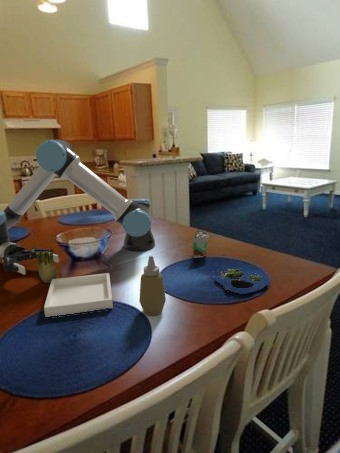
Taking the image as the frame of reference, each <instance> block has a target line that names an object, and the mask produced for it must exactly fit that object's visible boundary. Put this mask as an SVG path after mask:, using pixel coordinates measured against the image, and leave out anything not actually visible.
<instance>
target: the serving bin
mask: <svg viewBox="0 0 340 453" xmlns="http://www.w3.org/2000/svg"><path fill="white" fill-rule="evenodd" d="M49 284H50V285H49V288H48V292H47V295H46V300H45V302H44V306H43V311H44V312H43V313H44V316H45V317H50V316H57V315H58V316H59V315H66V314H74V313H80V312H87V311H94V310H100V309H106V308H113V309H114V307H113V305H114V304H113V296H112V295H113V294H112V293H113V292H112V286H111V278H110V272H107V273H106V272H105V273H98V274H89V275H88V274H87V275H81V276H80V275H79V276H77V275H76V276H70V277H69V276H68V277H60V278H59V277H58V278H56V279H52V281H51V283H49ZM74 315H75V314H74ZM59 317H60V316H59Z"/></svg>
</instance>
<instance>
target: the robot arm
mask: <svg viewBox="0 0 340 453" xmlns="http://www.w3.org/2000/svg"><path fill="white" fill-rule="evenodd" d="M35 157H36V158H35V159H36V161H37V163H38V165H39V166H38V168H36V170H35V171H34V173H32V175H31V176H30V177H29V178H28V180H27V181H26V182H25V183H24V185H23V186H22V187H21V188H20V189H19V191H18V192H17V193H16V195H15V196H14V197H13V198H12V200H11V201H10V202H9V204H8V205H6V207H5V208H4V210H0V258H1V261H2V265H3V270H4V273H7V272H9V271H10V273H15V272H17V273H20V274H22V275H26V274H27V273H26V267H25V266H24V265H21V264H20V263H22V262H24V261H27V260H34V259H37V256H36V253H40V256H41V253H42V252H45V258H46V251H49V252H53V261H54V263H59V262H60V259H59V255H58V254H55V253H54V249H53V248H52V249H51V248H36V247H31V250H30V249H29V250H26V248H24V246H22V245H20V244H17V243H14V242H12V241H10V240H11V239H10V234H9V229H11V228H12V227H13V226H15V225H17V224H18V223H19V222H20V221H21V219H22V217H23V216H24V215H25V213H26V212H27V211H28V209H29V208H30V207H31V206H32V205H33V203H34V202H35V201H36V200H37V199H38V198H39V196H40V195H41V194H42V193H43V192H44V190H45V189H46V188H47V186H49V184H50V183H51V182H52V180H53V179H54V178H55V177H56V176H57V177H58V178H60V179H61V180H62V179H63V180H64V179H67V180H68V181H70V182H71V183H72V184H73V185H74V186H76V187H78V189H80V190H81V191H83V193H85V194H86V195H87V196H89V197H90V198H91V199H93V200H94V201H95V202H97V203H98V204H99V205H100V206H101V207H103V208H104V209H106V210H107V211H108V212H109V213H111V214H112V215H113V217H114V221H115V222H116V223H118V224H119V225H120V226H121V227H122V228H123V230H124V232H125V235H124V240H123V248H124V249H126V250H127V251H132V252H133V251H134V252H143V251H148V250H151V249H153V248H155V246H156V241H155V236H154V235H153V234H154V233H153V232H152V216H151V201H150V199H149V198H126V197H124V196H123V195H122V194H121V193H120V192H118V191H117V190H116V189H115V188H114V187H112V186H111V185H110V184H108V183H107V182H106V181H105V180H104V179H103V178H101V177H100V176H99V175H97V174H96V173H95V172H93V171H92V170H91V169H90V168H88V167H87V166H86V165H84V164H83V162H81V159H80V156H79V154H77V153H76V152H75V151H74V148H73V146H72V145H71V144H70V143H69V142H68V141H67V140H64V139H60V138H58V139H47V140H45V141H43V142H41V143H40V144H39V146H38V147H37V149H36V152H35ZM41 259H42V257H41Z"/></svg>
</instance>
